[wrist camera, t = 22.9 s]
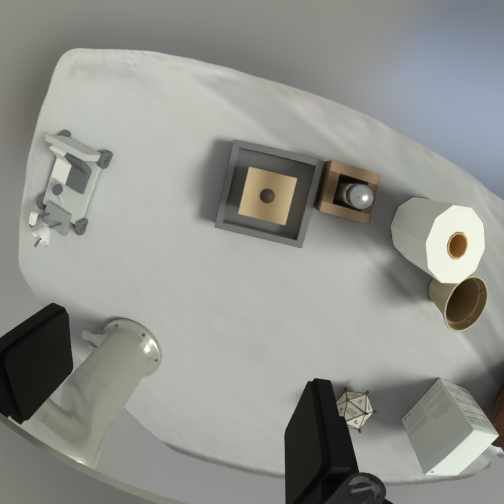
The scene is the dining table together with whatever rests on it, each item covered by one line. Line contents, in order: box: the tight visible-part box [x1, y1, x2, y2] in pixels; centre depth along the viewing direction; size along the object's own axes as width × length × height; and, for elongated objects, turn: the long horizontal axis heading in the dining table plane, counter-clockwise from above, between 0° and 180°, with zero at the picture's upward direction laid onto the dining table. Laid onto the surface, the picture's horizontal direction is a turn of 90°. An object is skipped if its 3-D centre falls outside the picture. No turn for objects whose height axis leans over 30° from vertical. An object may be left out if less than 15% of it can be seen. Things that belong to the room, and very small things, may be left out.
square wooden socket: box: [315, 160, 380, 225], centre depth 39 cm, size 7×7×4 cm
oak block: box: [238, 167, 297, 225], centre depth 39 cm, size 6×6×6 cm
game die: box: [336, 387, 377, 433], centre depth 47 cm, size 9×8×10 cm
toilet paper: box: [390, 197, 485, 283], centre depth 36 cm, size 10×10×12 cm
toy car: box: [29, 130, 113, 247], centre depth 40 cm, size 18×10×12 cm
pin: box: [334, 183, 374, 210], centre depth 37 cm, size 3×3×10 cm
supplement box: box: [401, 378, 499, 475], centre depth 42 cm, size 13×13×18 cm
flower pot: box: [429, 275, 488, 332], centre depth 39 cm, size 9×9×9 cm
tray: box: [215, 140, 324, 248], centre depth 41 cm, size 12×12×3 cm
